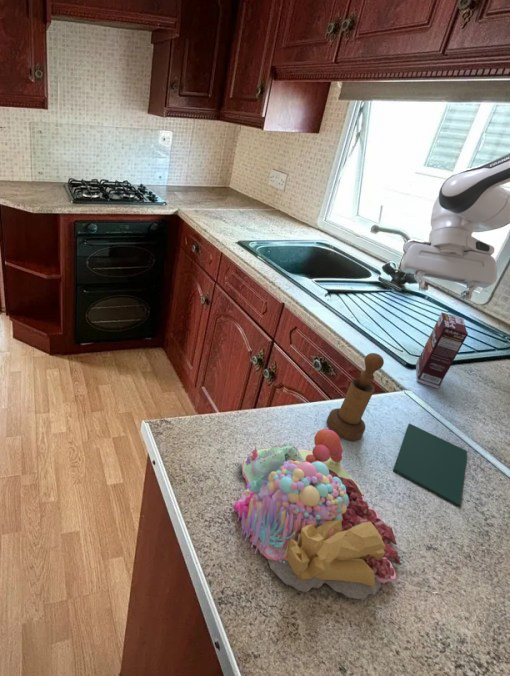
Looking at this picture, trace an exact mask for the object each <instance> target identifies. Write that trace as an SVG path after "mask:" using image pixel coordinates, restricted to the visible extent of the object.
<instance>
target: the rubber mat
mask: <svg viewBox="0 0 510 676" xmlns="http://www.w3.org/2000/svg"><path fill="white" fill-rule="evenodd" d="M396 457H397V458H396V460H395V464H394V466H393V469H392V472H394V473H396V474H398V475H399V476H402V477H403V478H405V479H407V480H408V481H410V482H412V483H414V484H416V485H417V486H419V487H421V488H424V489H425V490H427V491H428V492H431V493H433V494H435V495H436V496H437V497H440V498H442V499H443V500H445V501H447V502H449V503H451V504H452V505H454V506H457V507H458V508H460V507H461V506H462V497H463V491H464V482H465V480H464V479H465V473H466V466H467V457H468V450H466V449H464V448H461V447H459V445H456V444H453V443H451V442H449V441H447V440H445V439H443V438H441V437H439V436H437V435H435V434H432V433H430V432H428V431H426V430H424V429H422V428H420V427H418V426H416V425H414V424H411V423H408V425H407V427H406V431H405V433H404V437H403V439H402V443H401V445H400V447H399V451H398V454H397V456H396Z"/></svg>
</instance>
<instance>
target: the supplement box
mask: <svg viewBox="0 0 510 676" xmlns="http://www.w3.org/2000/svg"><path fill="white" fill-rule="evenodd" d="M468 335H469V333H468V331H467V328H466V324H465V318H464V317H460V316H457V315H453V314H449V313H445V312H441V313H440V314H439V316H438V319H437V321H436V323H435V324H434V327H433V328H432V331H431V332H430V334H429V337H428V338H427V341H426V343H425V345H424V347H423V348H422V351H421V353H420V355H419V356H418V359H417V361H416V363H415V370H416V374H415V375H416V383H420V384H423V385H426V386H428V387H430V388H435V389H439V388H440V386H441V384H442V382H443V381H444V379H445V377H446V375H447V373H448V372H449V370H450V368H451V366H452V364H453V362H454V361H455V358H456V357H457V355H458V354H459V351H460V350H461V348H462V346H463V344H464V343H465V341H466V339H467V337H468Z"/></svg>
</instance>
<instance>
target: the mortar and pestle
mask: <svg viewBox="0 0 510 676" xmlns="http://www.w3.org/2000/svg"><path fill="white" fill-rule="evenodd" d="M384 363H385V361H384V357H383V356H382V355H380V354H379V353H376V352H370V353H368V354H367V355H365V357H364V366H365V370H363V371H361V372H360V374H359V378H354V379H351V382H350V385H349V387H348V389H347V392H346V394H345V397H344V399H343V401H342V402H341V405H340V408H338V407H337V408H333V409H331V410H330V412H329V413H328V417H327V419H326V426H327V427H328V429H329V430H332V431H334V432H335V433H337V435H338V436H339V438H340V439H343V440H345V441H349V442H356V441H359V440H361V439H362V437H363V435H364V434H365V431H366V423H365V422H364V420H363V419H362V418H363V415H364V413H365V411H366V409H367V407H368V405H369V402H370V401H371V398H372V396H373V395H374V392H375V390H376V389H375V386H374V385H373V384H372V382H373V381H374V379H375V376H374V373H376V372H377V371H379V370H380V369H382V368H383V366H384Z"/></svg>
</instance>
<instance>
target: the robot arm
mask: <svg viewBox="0 0 510 676" xmlns="http://www.w3.org/2000/svg"><path fill="white" fill-rule="evenodd" d="M508 183H510V152H509V153H507V154H504V155H502V156H500V157H497V158H495V159H493V160H490V161H488V162H485V163H483V164H480V165H477V166H475V167H474V166H473V167H471V168H470V167H469V168H466V169H464V170H460V171H458V172H456V173H454V174H452V175H450V176H449V177H448V178H447V179H446V180H444V182H443V183H442V184H441V187H440V189H439V192H438V196H437V197H436V199H435V201H434V203H433V206H432V211H431V215H430V226H431V230H430V231H429V234H428V235H429V236H428V241H423V240H417V239H410V240H407V241H405V242H404V243H403V247H402V251H403V256H402V259H401V262H400V270H401V272H402V273H406V274H411V275H414V279H415V281H416V283H417V284H418V291H420V292H427V291H428V290H429V285H430V283H429V282H427V281H426V280H425V278H424V277H426V278H431V279H435V280H436V279H437V280H440V281H446V282H451V283H457V284H461V285H466V289H467V290H464V291H462V292H460V299H461V300H463V301H464V300H465V301H470V300H471V299H472V297H473V295H472V294H473V292H474V291H475V290H476V289H477V288H480V289H481V288H482V289H486V288H489V287H490V286H492V285H494V283H496V282H497V279H498V278H497V277H498V270H497V262H496V259H495V257H494V256H492V255H493V254H494V253H495V247H494V246H493V245H491V244H489V243H486V242H484V241H482V240H480V239H478V238H476V237H475V236H473V235H472V234H473V233H484V232H489V231H493V230H494V231H495V230H499V229H502V228H505V227H506V226H508V225H509V224H510V191H508V189H506V188H504V187H502V186H503V185H506V184H508Z"/></svg>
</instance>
